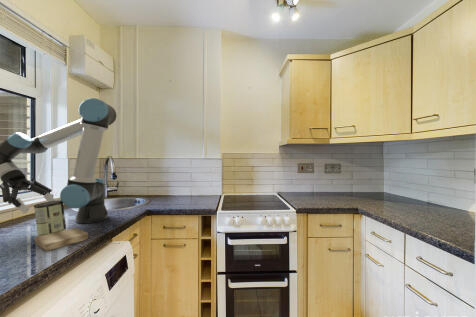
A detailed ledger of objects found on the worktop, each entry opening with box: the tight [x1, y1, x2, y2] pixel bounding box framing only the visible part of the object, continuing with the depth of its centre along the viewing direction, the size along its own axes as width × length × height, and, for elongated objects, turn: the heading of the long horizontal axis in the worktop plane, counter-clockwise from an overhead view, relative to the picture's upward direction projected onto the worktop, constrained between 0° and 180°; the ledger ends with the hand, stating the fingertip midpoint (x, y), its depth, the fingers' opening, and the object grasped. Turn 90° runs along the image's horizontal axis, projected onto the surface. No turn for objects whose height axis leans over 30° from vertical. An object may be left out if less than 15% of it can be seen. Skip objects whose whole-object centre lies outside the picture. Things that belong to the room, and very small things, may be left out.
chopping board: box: [34, 227, 89, 252], centre depth 90 cm, size 14×13×2 cm
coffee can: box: [33, 199, 67, 237], centre depth 99 cm, size 10×10×14 cm
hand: (41, 207), depth 99 cm, fingers open, 13 cm apart
